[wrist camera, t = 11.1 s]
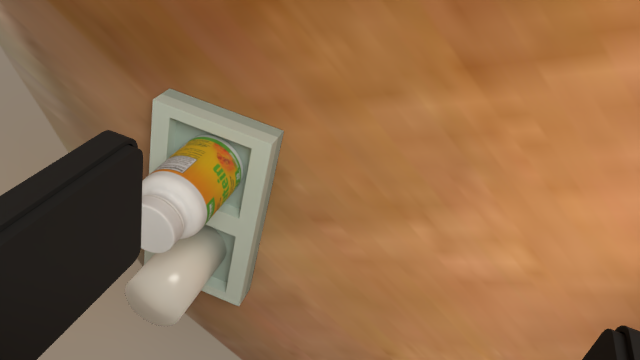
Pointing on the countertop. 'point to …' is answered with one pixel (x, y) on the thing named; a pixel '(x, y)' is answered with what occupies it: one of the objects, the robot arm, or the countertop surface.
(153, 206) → the supplement bottle
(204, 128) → the caddy
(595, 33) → the countertop surface
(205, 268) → the white rounded cylinder
